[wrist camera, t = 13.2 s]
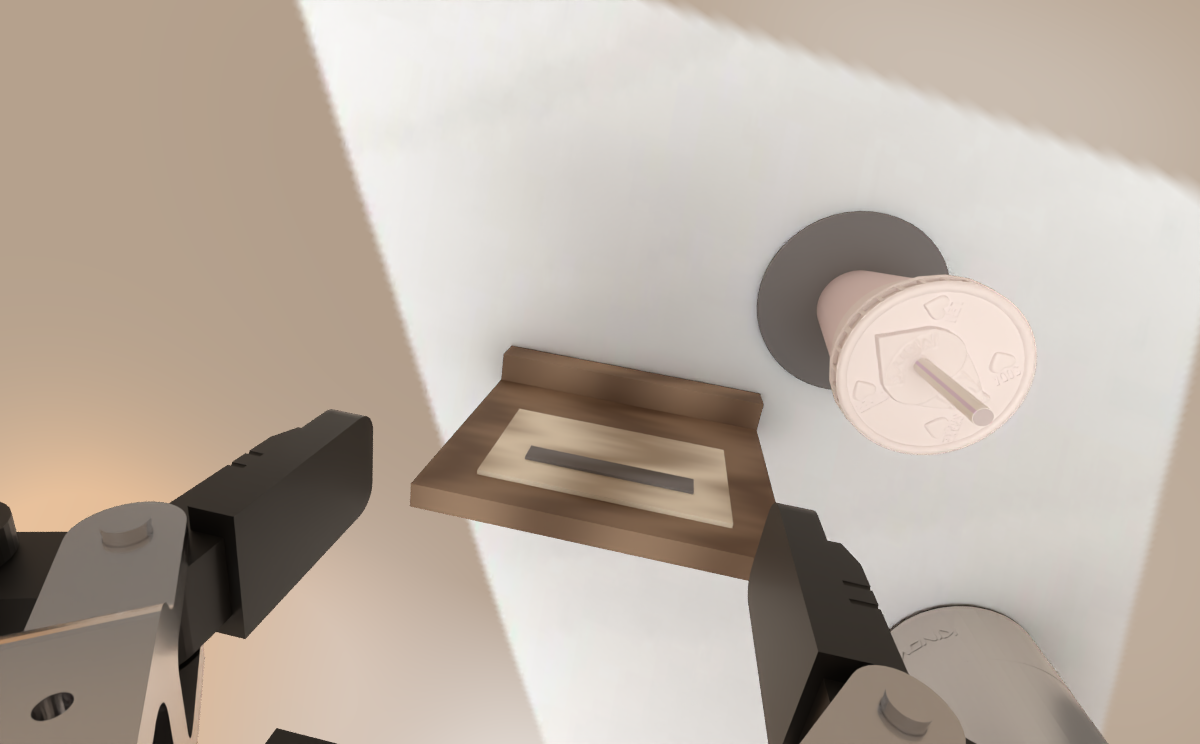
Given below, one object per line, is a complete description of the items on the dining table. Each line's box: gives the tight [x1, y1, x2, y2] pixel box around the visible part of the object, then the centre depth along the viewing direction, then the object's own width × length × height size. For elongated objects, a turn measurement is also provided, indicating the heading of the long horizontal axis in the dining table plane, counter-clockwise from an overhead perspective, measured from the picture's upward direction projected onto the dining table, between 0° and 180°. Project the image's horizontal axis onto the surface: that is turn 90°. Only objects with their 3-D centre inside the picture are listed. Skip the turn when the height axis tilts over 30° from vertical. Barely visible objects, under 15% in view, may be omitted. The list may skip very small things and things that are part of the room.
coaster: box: [757, 211, 949, 389], centre depth 29 cm, size 9×9×1 cm
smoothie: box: [817, 270, 1037, 455], centre depth 22 cm, size 6×6×14 cm
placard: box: [410, 346, 776, 581], centre depth 26 cm, size 14×4×12 cm, turn 81°
